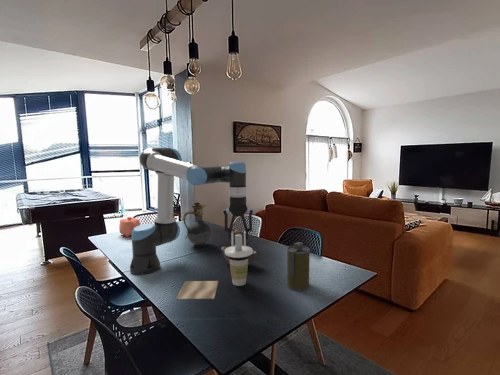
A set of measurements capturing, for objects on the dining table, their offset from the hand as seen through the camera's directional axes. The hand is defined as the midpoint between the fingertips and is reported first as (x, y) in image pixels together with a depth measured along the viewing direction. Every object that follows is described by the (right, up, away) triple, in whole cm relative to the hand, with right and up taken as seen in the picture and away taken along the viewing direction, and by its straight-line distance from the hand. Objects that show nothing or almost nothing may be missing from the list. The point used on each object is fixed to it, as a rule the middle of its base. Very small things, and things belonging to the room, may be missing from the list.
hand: (238, 245), depth 122 cm
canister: (+27, -18, -1) cm, 33 cm away
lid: (0, -3, 0) cm, 3 cm away
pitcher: (-30, -13, +56) cm, 64 cm away
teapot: (-88, -10, +84) cm, 122 cm away
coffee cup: (0, -18, +2) cm, 18 cm away
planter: (-1, -16, +24) cm, 29 cm away
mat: (-18, -19, -4) cm, 26 cm away
